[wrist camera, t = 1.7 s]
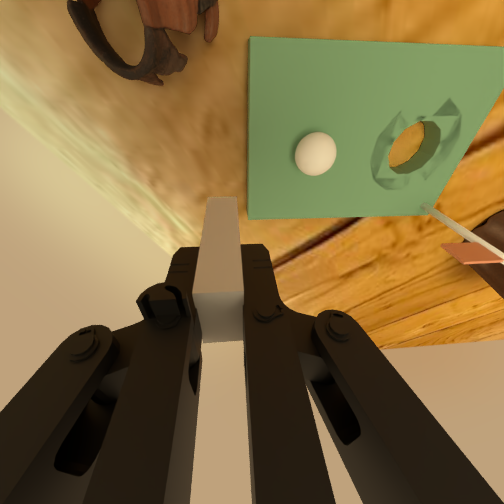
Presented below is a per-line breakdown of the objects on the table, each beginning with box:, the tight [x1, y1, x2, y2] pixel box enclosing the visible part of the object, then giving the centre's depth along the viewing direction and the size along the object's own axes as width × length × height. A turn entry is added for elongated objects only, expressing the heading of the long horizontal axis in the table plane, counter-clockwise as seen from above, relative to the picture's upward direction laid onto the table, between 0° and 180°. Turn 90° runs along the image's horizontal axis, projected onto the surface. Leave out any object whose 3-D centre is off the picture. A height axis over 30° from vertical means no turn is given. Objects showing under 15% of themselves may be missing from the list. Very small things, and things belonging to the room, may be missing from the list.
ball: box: [295, 132, 337, 176], centre depth 22 cm, size 4×4×4 cm
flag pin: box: [420, 203, 504, 265], centre depth 26 cm, size 1×5×14 cm, turn 89°
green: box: [247, 36, 504, 220], centre depth 25 cm, size 25×17×2 cm
